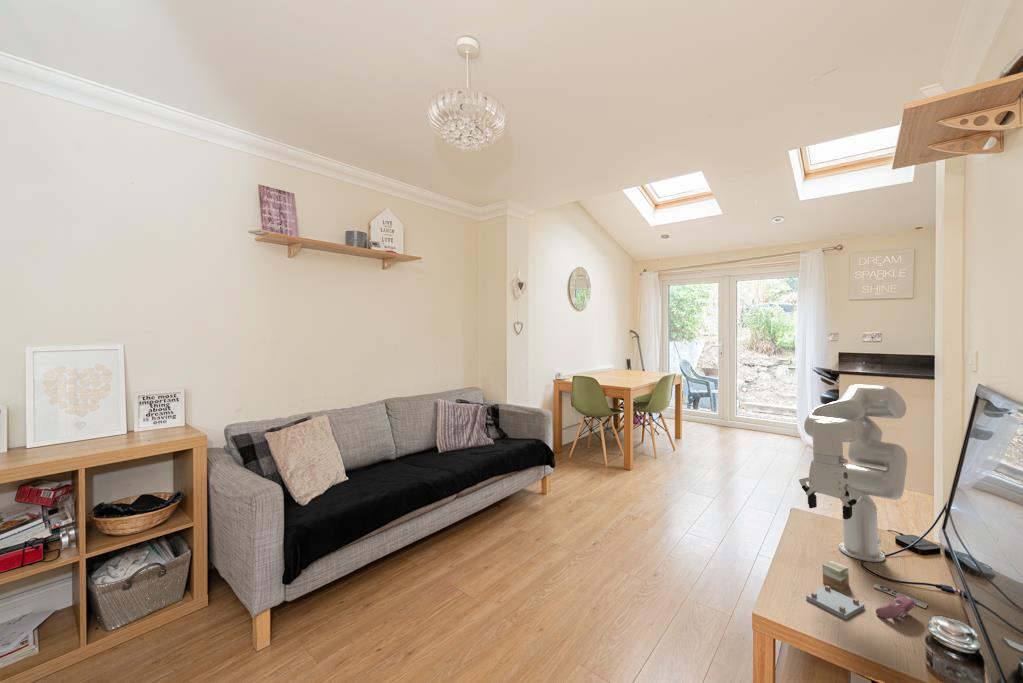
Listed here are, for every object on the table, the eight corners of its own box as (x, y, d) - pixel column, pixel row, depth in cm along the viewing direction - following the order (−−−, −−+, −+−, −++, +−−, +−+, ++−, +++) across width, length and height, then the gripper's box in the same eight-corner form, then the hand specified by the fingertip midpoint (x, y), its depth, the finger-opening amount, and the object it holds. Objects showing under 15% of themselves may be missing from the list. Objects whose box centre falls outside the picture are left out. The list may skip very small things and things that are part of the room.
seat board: (825, 590, 125) (825, 582, 125) (864, 608, 116) (864, 600, 116) (806, 599, 120) (806, 592, 120) (845, 619, 111) (845, 611, 111)
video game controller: (891, 629, 109) (905, 612, 107) (872, 612, 113) (885, 596, 110) (909, 618, 113) (923, 602, 111) (891, 602, 117) (904, 586, 114)
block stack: (831, 578, 130) (830, 560, 131) (849, 586, 126) (848, 567, 126) (823, 583, 128) (822, 564, 128) (840, 591, 124) (839, 571, 124)
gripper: (866, 464, 123) (868, 521, 122) (805, 452, 139) (807, 502, 138) (853, 467, 120) (855, 525, 119) (792, 454, 135) (793, 505, 135)
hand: (829, 512), depth 129 cm, fingers open, 9 cm apart
